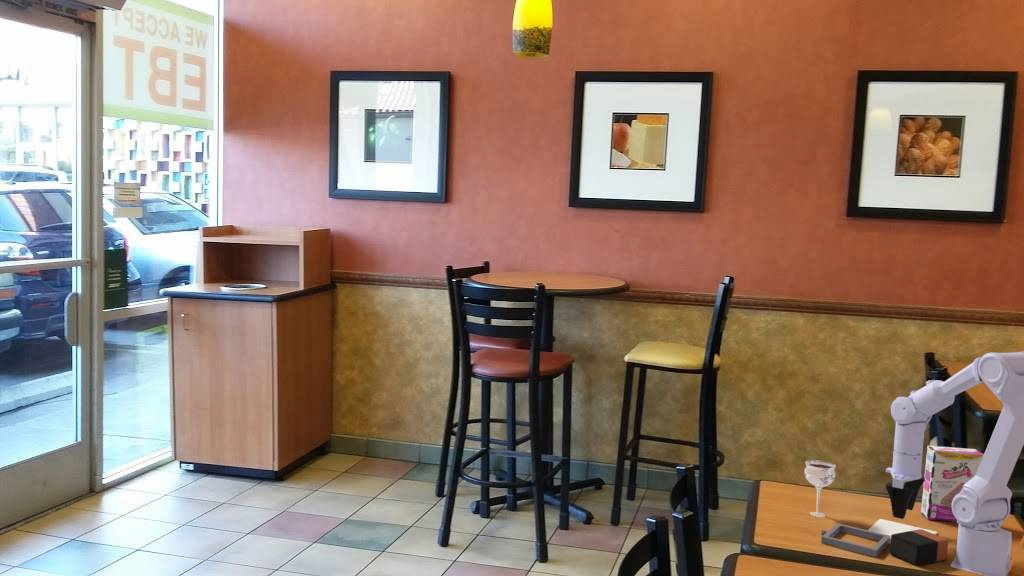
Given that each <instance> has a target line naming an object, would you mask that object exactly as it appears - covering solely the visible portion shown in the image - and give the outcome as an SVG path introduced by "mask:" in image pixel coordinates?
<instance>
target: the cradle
mask: <svg viewBox="0 0 1024 576" xmlns="http://www.w3.org/2000/svg"><path fill="white" fill-rule="evenodd" d="M839 533H844V534H848V535H851V536H855V537H859V538H862V539H867V540H871V541H875V542H877V543H876V544H875V545H874V546H873V547H872V546H868V545H863V544H859V543H856V542H851V541H847V540H844V539H839V538H835V537H837V535H838V534H839ZM821 535H822V536H821V539H820V543H821V544H823V545H827V546H831V547H833V548H837V549H842V550H844V551H849V552H853V553H855V554H856V553H857V554H861V555H865V556H869V557H873V558H877V557H879V555H880V554H881V553H882V552H883V551H884V550H885V549H886V548H887V547H888V546H889V544H891V540H890V538H891V536H889V535H885V534H881V533H877V532H872V531H868V530H867V529H864V528H859V527H855V526H850V525H845V524H843V523H836V524H835V525H834V526H832V527H831V528H830V529H829V530H828V531H827V530H821Z"/></svg>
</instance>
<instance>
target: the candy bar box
mask: <svg viewBox="0 0 1024 576" xmlns="http://www.w3.org/2000/svg"><path fill="white" fill-rule="evenodd" d="M984 454H985V453H983V452H981V451H979V450H977V449H975V448H966V447H965V448H963V447H954V446H953V447H952V446H951V447H950V446H941V445H939V446H938V445H927V447H926V455H925V456H926V457H925V466H924V475H923V476H924V477H923V478H925V481H924V483H923V484H922V486H923V488H922V497H921V507H920V508H921V509H920V514H921V515H922V516H924V518H926V519H927V520H930V521H931V520H932V521H941V522H942V521H943V522H954V523H957V519H956V518H955V516H954V514H953V512H952V500H953V498H954V497H955V496H956V495H957V494H958V493H960V491H961V490H962V488H963V485H964V484H966V483H967V482H968V481H969V480H971V479H972V478H973V477H974V476H975V475H976V473H977V471H978V468H979V466H980V463H981V461H982V459H983V456H984Z"/></svg>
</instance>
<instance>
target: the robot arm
mask: <svg viewBox="0 0 1024 576" xmlns="http://www.w3.org/2000/svg"><path fill="white" fill-rule="evenodd" d="M982 383H984V384H985V386H986V387H988V389H989V390H990V391H991V392H992V393H993V395H994V396H996V398H997V399H998V400H999V401H1001V404H1002V406H1003V407H1002V410H1001V411H1000V415H999V416H998V419H997V422H996V425H995V427H994V429H993V431H992V433H991V437H990V439H989V441H988V444H987V447H986V449H985V451H984V453H983V454H984V456H983V459H982V461H981V463H980V466H979V468H978V471H977V473H976V475H975V476H974V477H973V478H972V479H971V480H969V481H968V482H967V483H966V484H964V485H963V488H962V490H961V491H960V493H958V494H957V495H956V496H955V497H954V498H953V500H952V512H953V514H954V516H955V518H956V519H957V522H956V523H957V524H958V529H957V530H958V531H957V539H956V540H957V541H956V551H955V552H956V553H955V558H954V559H953V561H952V562H951V564H950V565H949V566H950V567H951V568H954V569H958V570H961V571H966V572H970V573H973V574H978V575H981V576H1007V575H1008V574H1009V571H1010V569H1011V563H1012V561H1011V553H1012V543H1013V542H1012V541H1013V533H1012V532H1011V531H1009V530H1006V529H1003V528H1001V527H1003V521H1005V520H1006V519H1007V518H1008V517H1009V516H1010V513H1011V499H1012V497H1013V492H1012V490H1010V488H1009V487H1008V486H1007V485H1008V482H1009V480H1010V478H1011V476H1012V473H1013V472H1014V469H1015V466H1016V463H1017V462H1018V459H1019V457H1020V454H1021V452H1022V449H1023V447H1024V351H1015V352H988V353H985V354H983V356H980V357H977V358H975V359H974V360H973V362H972V363H970V364H969V365H967V366H966V367H964V368H962V369H961V370H960V371H958V372H957V373H955V374H954V375H952V376H951V377H949V378H948V379H946V380H945V381H943V380H938V379H936V380H935V379H931V380H930V379H928V381H926V382H925V384H926V385H925V386H922V387H921V388H919V389H918V390H912V391H911V392H910V393H909V394H910V395H908V396H907V397H905V396H897V397H896V399H894V400H893V401H892V403H891V406H890V414H891V417H892V418H893V420H894V422H895V429H894V440H893V441H894V443H893V452H892V453H893V456H892V466H891V467H887V468H886V469H885V472H886V473H887V474H890V475H891V477H892V482H886V483H885V489H886V492H887V494H888V496H889V500H890V504H891V512H892V516H893V518H895V519H896V518H897V519H901V520H904V519H905V517H906V515H907V510H908V511H913V510H914V507H915V504H916V501H917V497H918V495H919V491H920V489H921V488H922V486H923V485H924V481H925V478H924V477H923V474H922V464H923V452H924V440H925V439H924V438H925V431H926V430H927V426H928V423H929V422H930V421H931V419H932V417H933V415H935V414H937V413H939V412H940V411H942V410H944V409H946V408H948V407H949V406H951V405H953V404H954V402H955V400H956V399H955V398H956V397H955V396H957V395H959V394H961V393H963V392H964V391H967V390H969V389H972V388H973V387H975V386H977V385H980V384H982Z"/></svg>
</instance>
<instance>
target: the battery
mask: <svg viewBox="0 0 1024 576" xmlns="http://www.w3.org/2000/svg"><path fill="white" fill-rule="evenodd" d="M889 544H890V545H889V554H890V555H891V556H893V557H896V558H898V559H900V560H903V561H904V562H907V563H909V564H912V565H914V566H922V565H927V564H932V563H935V562H937V563H938V562H940V561H941V562H942V561H946V560H947V559H948V551H949V540H948V539H947V538H945V537H942V536H940V535H937V534H936V535H935V534H932V533H930V532H927V531H925V530H922V529H918V530H913V531H908V532H902V533H897V534H892V535H891V540H890V543H889Z"/></svg>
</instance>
